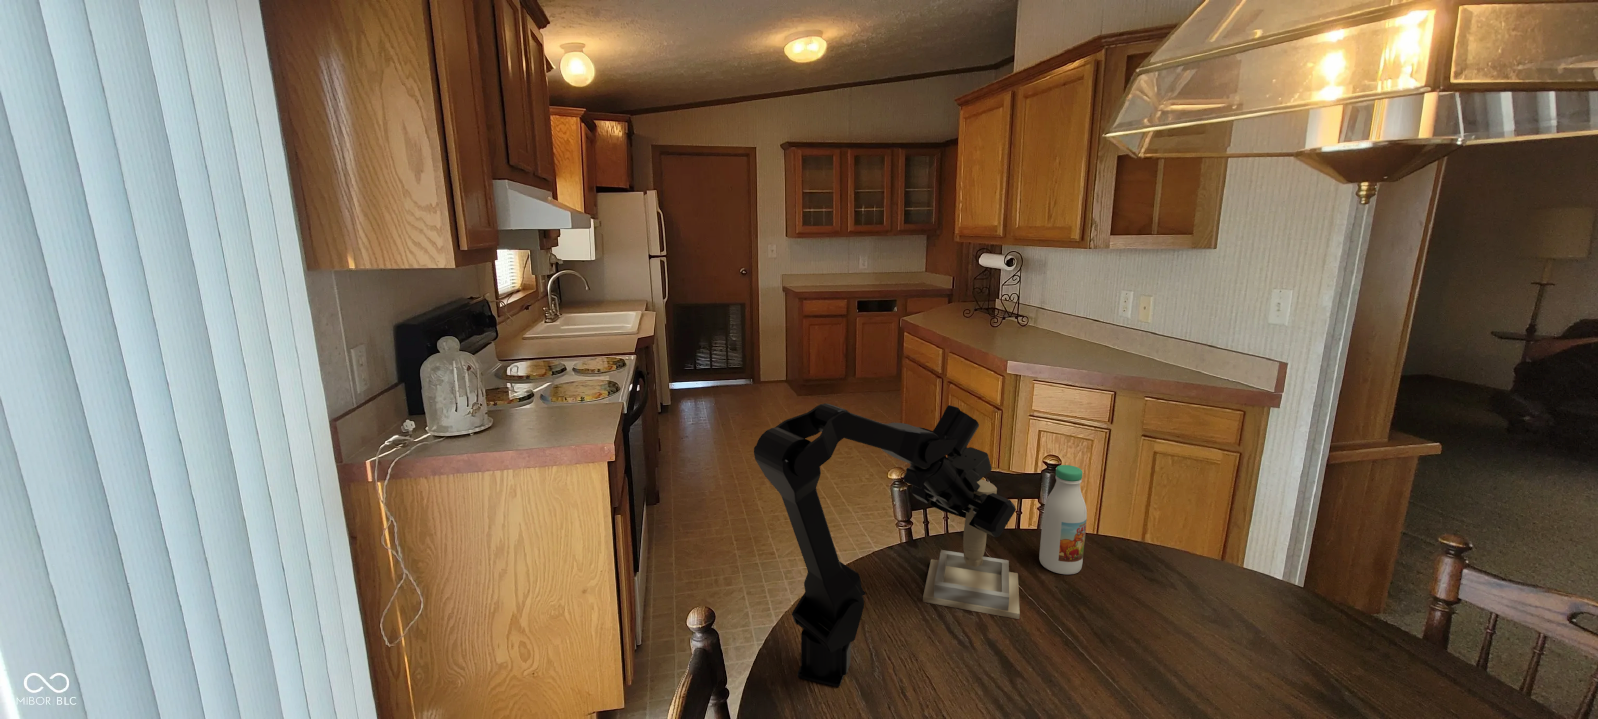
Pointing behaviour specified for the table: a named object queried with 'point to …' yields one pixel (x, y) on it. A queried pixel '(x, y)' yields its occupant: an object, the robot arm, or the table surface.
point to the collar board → (973, 585)
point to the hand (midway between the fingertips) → (980, 522)
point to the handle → (976, 531)
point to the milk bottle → (1064, 523)
